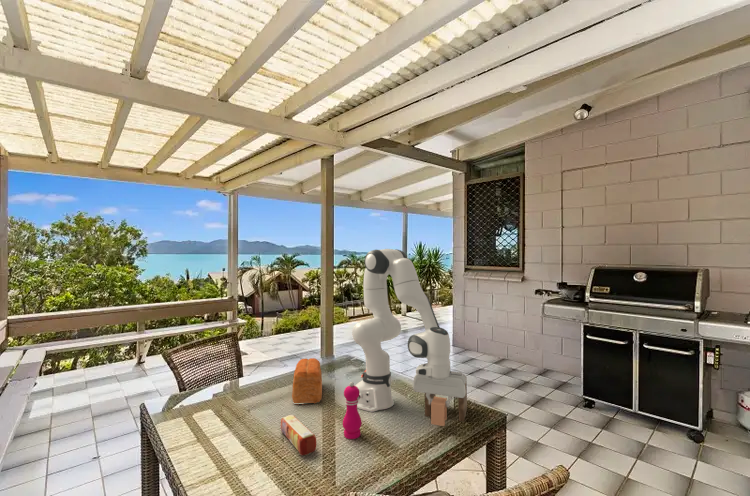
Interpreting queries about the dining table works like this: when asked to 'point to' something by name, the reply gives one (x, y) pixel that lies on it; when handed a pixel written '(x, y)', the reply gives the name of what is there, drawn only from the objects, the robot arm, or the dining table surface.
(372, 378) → the robot arm
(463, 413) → the stand
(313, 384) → the bread
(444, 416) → the tall peach block
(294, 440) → the snack package
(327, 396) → the dining table surface
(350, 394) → the pepper mill
